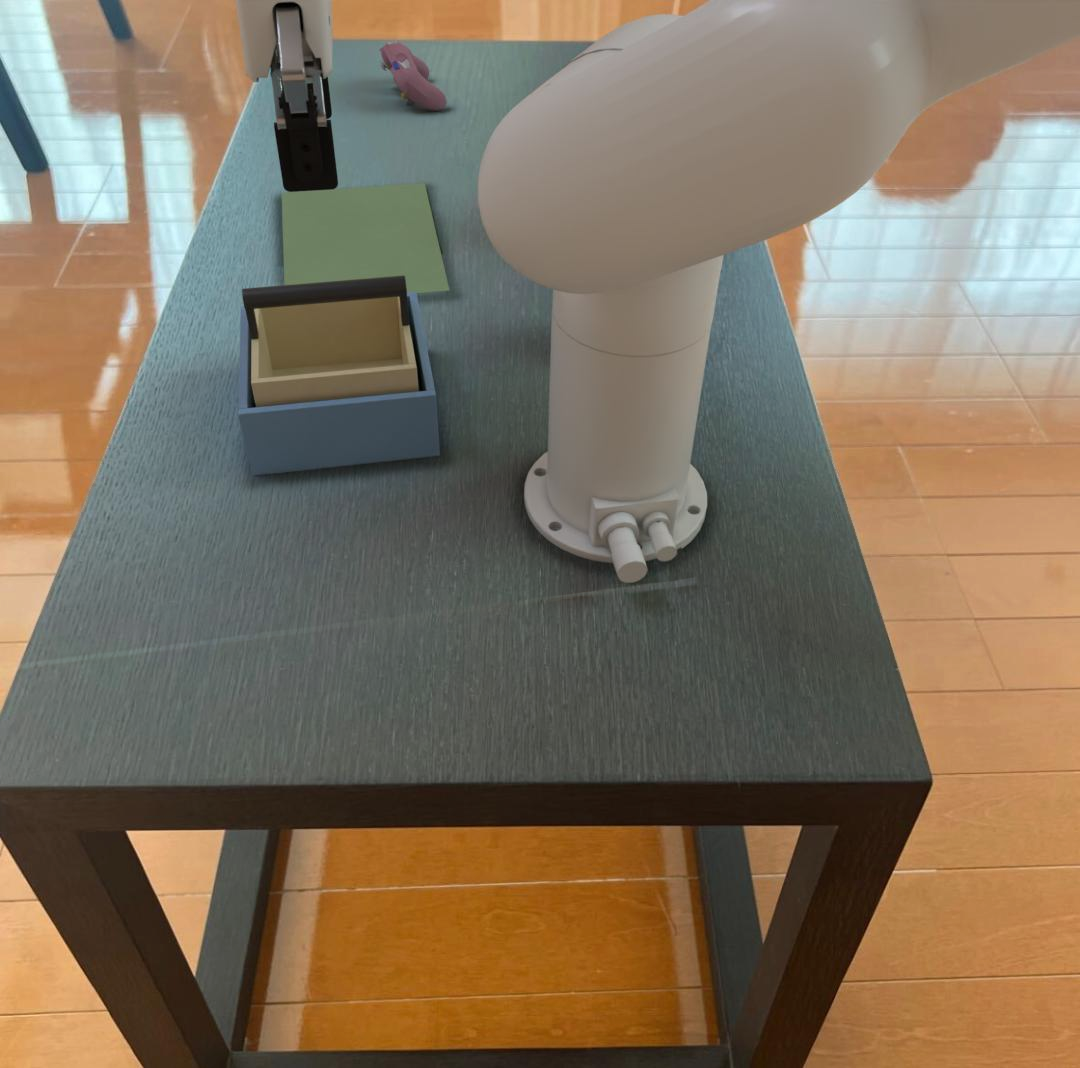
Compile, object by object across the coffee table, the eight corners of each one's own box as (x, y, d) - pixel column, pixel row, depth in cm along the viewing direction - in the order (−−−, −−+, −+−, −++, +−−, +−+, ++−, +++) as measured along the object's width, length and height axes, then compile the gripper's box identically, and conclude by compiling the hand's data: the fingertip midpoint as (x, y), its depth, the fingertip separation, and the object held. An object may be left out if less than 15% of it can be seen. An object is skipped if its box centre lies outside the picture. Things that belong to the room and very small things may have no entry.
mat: (450, 296, 93) (449, 290, 92) (285, 310, 91) (284, 304, 90) (425, 188, 107) (424, 182, 106) (282, 198, 105) (281, 192, 104)
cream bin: (422, 447, 77) (413, 321, 70) (268, 463, 76) (240, 336, 68) (408, 358, 85) (398, 236, 78) (267, 372, 84) (242, 248, 76)
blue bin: (440, 461, 77) (436, 394, 73) (253, 481, 75) (238, 414, 71) (421, 355, 86) (416, 291, 82) (254, 371, 85) (240, 306, 80)
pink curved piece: (398, 94, 126) (366, 42, 121) (431, 73, 126) (400, 19, 121) (416, 129, 120) (384, 75, 115) (451, 107, 119) (420, 52, 114)
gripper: (200, -204, 61) (250, 97, 73) (181, -121, 49) (245, 224, 61) (334, -205, 62) (361, 92, 74) (348, -124, 50) (379, 215, 62)
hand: (309, 151), depth 67 cm, fingers open, 9 cm apart
